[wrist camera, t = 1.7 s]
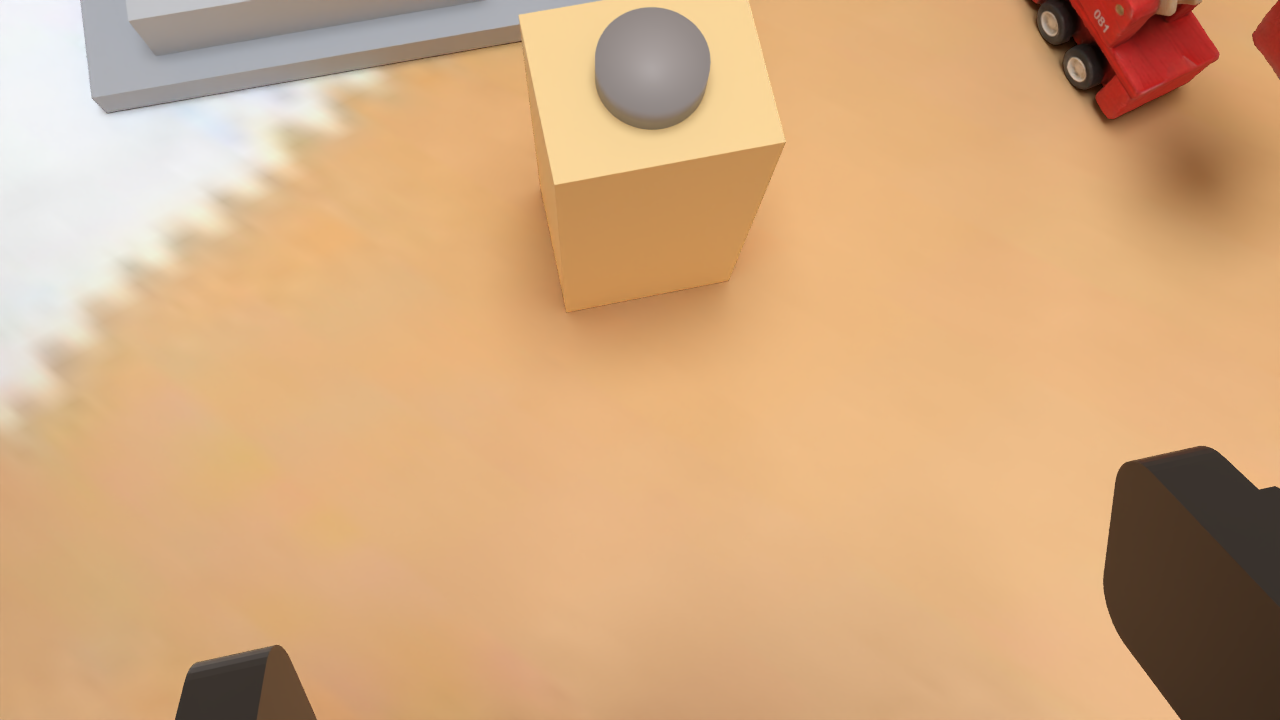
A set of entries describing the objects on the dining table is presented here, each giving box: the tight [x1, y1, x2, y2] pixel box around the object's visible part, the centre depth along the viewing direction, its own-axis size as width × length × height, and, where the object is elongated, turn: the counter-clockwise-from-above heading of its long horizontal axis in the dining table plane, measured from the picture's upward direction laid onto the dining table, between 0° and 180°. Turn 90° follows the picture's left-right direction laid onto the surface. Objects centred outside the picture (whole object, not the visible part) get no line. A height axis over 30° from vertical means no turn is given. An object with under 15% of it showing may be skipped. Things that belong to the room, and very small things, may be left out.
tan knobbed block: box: [519, 0, 786, 313], centre depth 28 cm, size 5×4×11 cm
